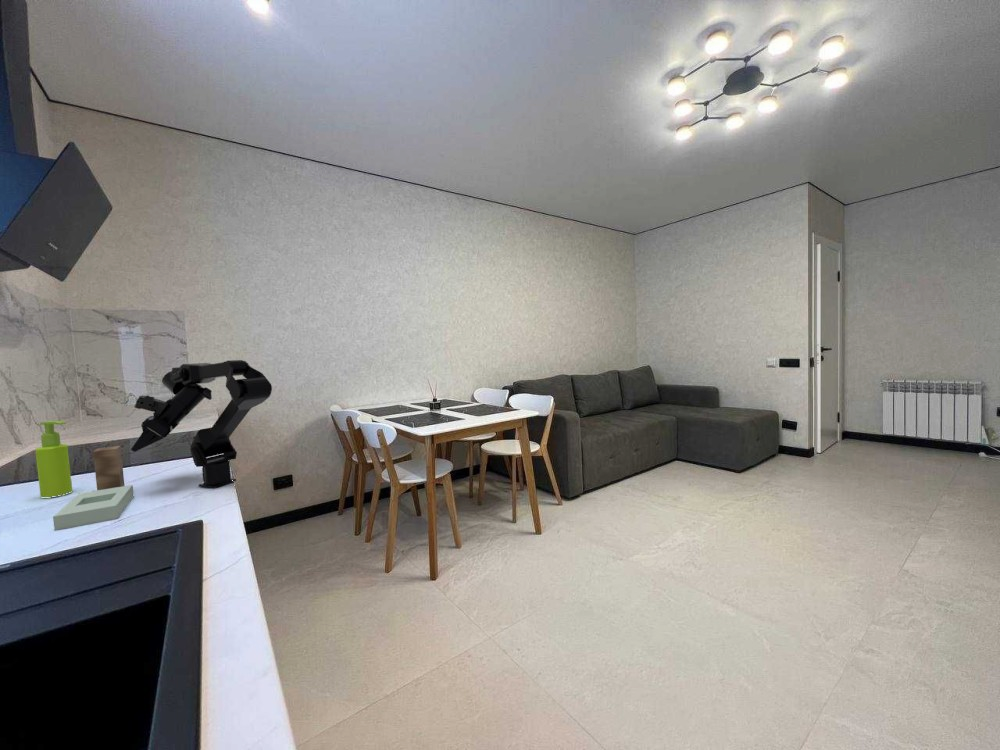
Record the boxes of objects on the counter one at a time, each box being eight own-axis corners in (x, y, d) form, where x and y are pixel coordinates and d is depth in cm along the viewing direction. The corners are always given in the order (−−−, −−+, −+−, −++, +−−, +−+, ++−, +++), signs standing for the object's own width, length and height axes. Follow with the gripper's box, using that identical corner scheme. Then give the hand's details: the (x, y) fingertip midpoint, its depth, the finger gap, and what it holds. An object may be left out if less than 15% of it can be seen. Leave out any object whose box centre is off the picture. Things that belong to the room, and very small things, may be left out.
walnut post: (125, 491, 114) (120, 445, 113) (121, 495, 110) (116, 448, 109) (102, 494, 111) (97, 448, 110) (98, 499, 108) (93, 451, 107)
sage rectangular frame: (80, 505, 104) (79, 493, 103) (133, 496, 109) (132, 484, 109) (54, 530, 88) (53, 516, 88) (117, 518, 94) (116, 505, 94)
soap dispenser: (59, 498, 110) (51, 422, 108) (34, 499, 110) (25, 423, 108) (82, 490, 115) (74, 418, 114) (58, 491, 116) (50, 419, 114)
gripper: (161, 382, 123) (115, 425, 118) (149, 386, 107) (95, 435, 102) (196, 406, 127) (153, 448, 122) (190, 413, 111) (140, 461, 106)
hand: (136, 447), depth 113 cm, fingers open, 9 cm apart
